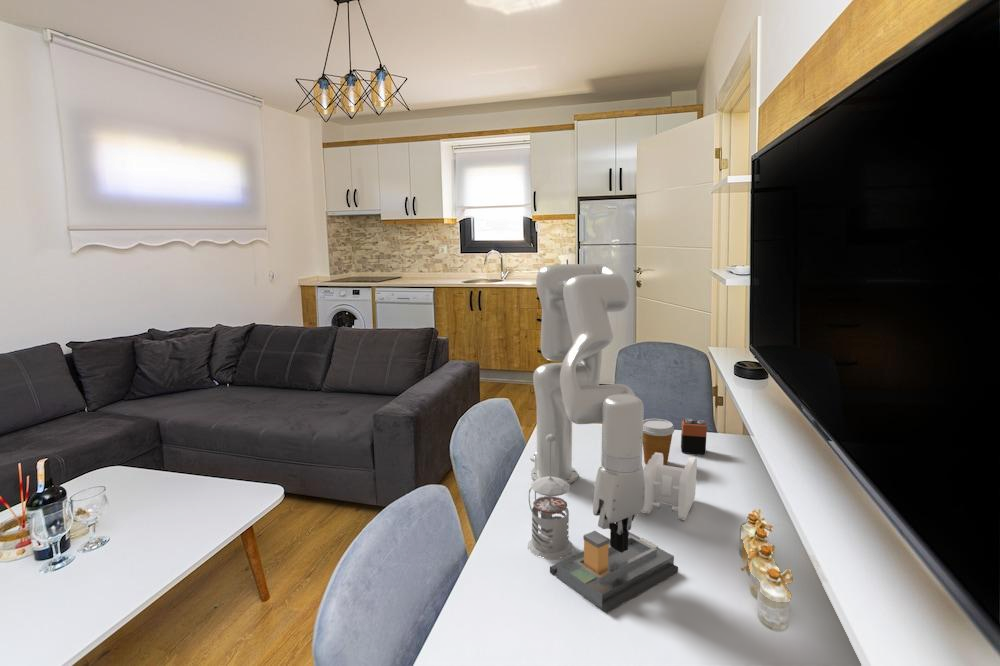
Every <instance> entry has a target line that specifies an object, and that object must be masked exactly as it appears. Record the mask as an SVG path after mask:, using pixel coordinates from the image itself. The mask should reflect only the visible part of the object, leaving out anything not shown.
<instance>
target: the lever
mask: <svg viewBox="0 0 1000 666" xmlns="http://www.w3.org/2000/svg"><path fill="white" fill-rule="evenodd" d="M609 539H610V538H609V537H606V536H605V535H603V534H602V533H600V532H598V531H596V530H593V531H591V532H588V533H586V534H584V535H583V551H584V565H586V566H587V567H589V568H590V569H592V570H593V571H595V572H596V573H598V574H601V573H603V572H605V571H607V570H608V548H609Z"/></svg>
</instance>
